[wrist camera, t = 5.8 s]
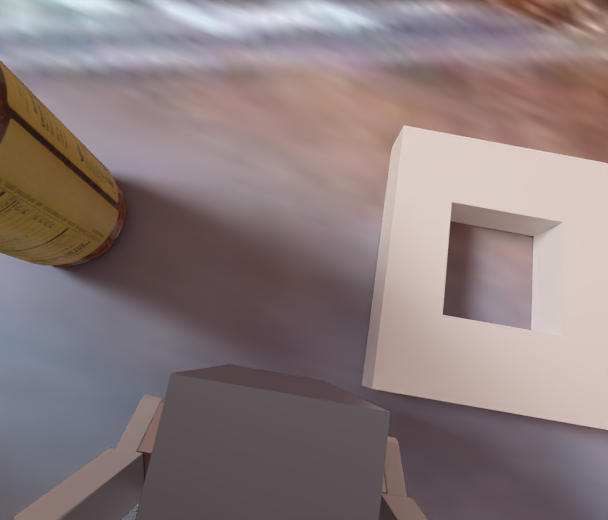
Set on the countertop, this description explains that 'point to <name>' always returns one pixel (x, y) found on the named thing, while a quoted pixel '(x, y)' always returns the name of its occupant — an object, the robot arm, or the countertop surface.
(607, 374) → the socket
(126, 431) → the robot arm
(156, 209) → the countertop surface
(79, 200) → the sauce bottle
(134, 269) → the countertop surface
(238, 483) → the plug
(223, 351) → the countertop surface
